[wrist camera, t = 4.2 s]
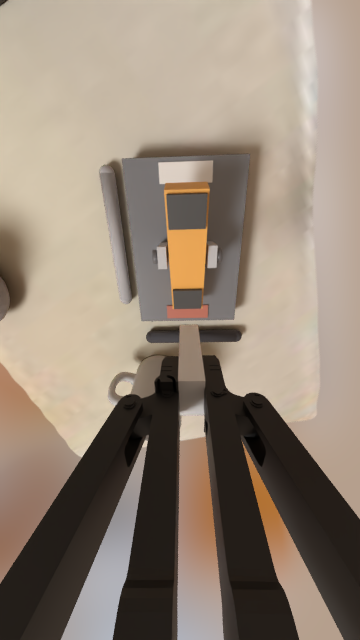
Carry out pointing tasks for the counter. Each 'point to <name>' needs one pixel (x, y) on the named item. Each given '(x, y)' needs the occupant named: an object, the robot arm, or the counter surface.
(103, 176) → the grey rod
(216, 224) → the panel
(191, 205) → the lever
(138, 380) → the mug
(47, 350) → the counter surface
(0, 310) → the coffee pot
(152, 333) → the black rounded bar
